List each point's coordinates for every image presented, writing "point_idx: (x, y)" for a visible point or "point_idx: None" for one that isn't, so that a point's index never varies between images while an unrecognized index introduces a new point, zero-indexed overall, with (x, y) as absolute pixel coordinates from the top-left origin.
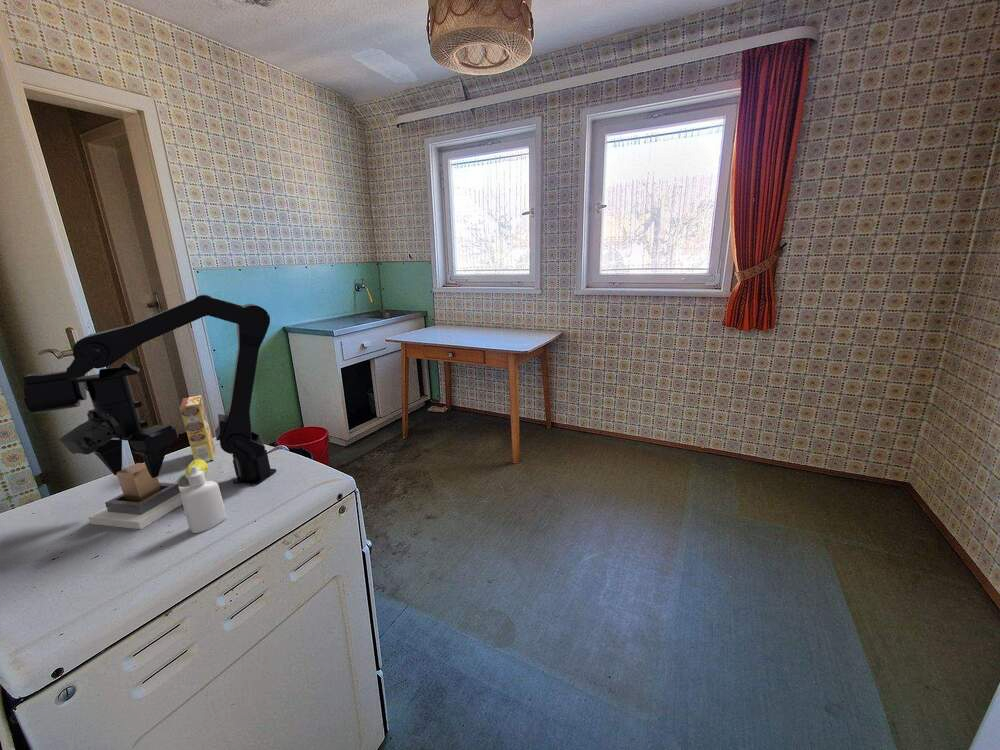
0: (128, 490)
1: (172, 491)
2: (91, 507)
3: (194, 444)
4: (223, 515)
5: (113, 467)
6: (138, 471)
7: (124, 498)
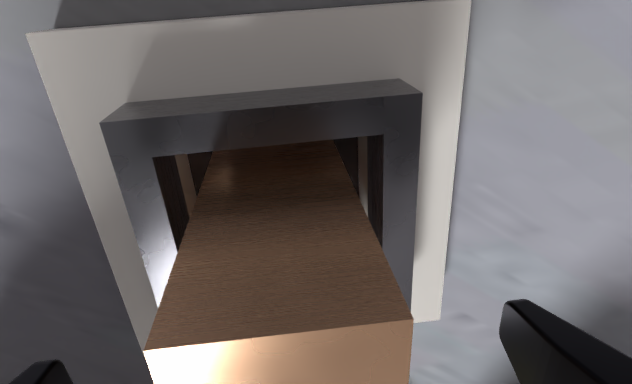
0: (291, 210)
1: None
2: (608, 123)
3: None
4: None
5: (559, 370)
6: None
7: (376, 180)
